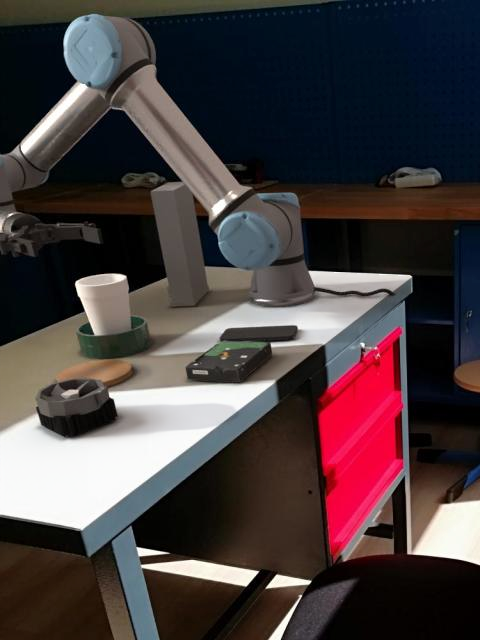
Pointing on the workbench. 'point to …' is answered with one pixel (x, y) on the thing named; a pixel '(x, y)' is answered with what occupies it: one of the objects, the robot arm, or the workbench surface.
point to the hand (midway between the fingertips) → (68, 242)
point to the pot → (114, 340)
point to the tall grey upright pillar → (180, 243)
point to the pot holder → (98, 371)
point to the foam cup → (106, 302)
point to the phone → (259, 333)
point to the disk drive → (229, 361)
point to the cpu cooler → (75, 406)
